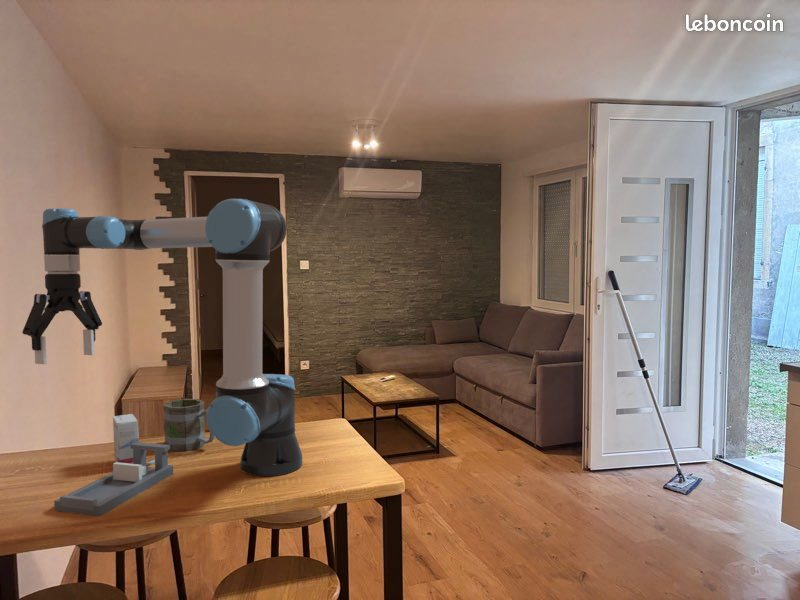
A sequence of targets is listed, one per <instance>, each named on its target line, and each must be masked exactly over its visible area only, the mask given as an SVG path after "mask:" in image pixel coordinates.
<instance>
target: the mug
mask: <svg viewBox="0 0 800 600" xmlns="http://www.w3.org/2000/svg"><path fill="white" fill-rule="evenodd" d="M205 404H206V403H205V400H202V399H198V398H181V399H175V400H170V401H168V402H166V403H164V404H162V408H163V413H164V415H163V416H164V417H163V419H164V420H163V432H164V445H170V449H169V450H167V452H171V453H172V452H173V453H186V452H190V451H195V450H199V449H201V448H203V447H204V446H205V445H206V444H211V443H212V442H213V441H214V439H215V438H216V437H215V436H214V435H212V433H211V432H210V431H209V438H207V437H205V435H206V434H205V426H206V413H207V409H208V408H207V409H205Z"/></svg>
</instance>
